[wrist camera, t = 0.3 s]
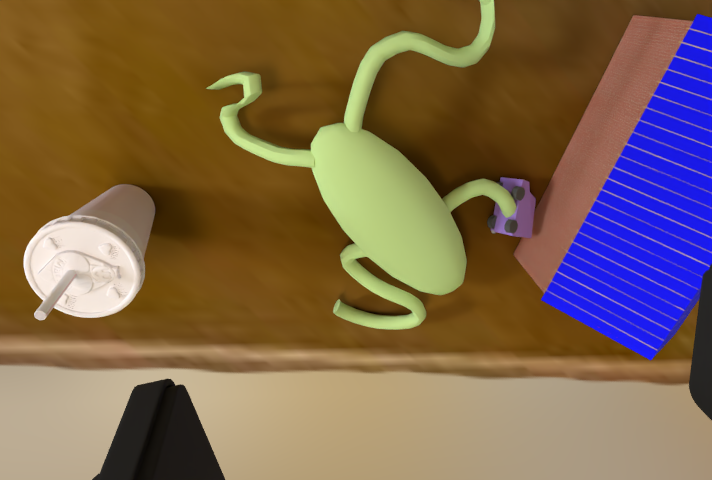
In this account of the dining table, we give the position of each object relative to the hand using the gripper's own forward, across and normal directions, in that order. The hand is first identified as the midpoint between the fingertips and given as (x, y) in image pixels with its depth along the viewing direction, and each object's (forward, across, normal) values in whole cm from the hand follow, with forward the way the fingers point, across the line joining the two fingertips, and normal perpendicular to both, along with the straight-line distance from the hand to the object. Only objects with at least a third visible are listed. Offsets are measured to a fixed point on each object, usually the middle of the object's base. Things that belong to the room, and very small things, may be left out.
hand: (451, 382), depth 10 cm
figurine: (+31, -2, +6) cm, 31 cm away
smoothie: (+31, +16, +6) cm, 35 cm away
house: (+31, -22, +11) cm, 39 cm away
